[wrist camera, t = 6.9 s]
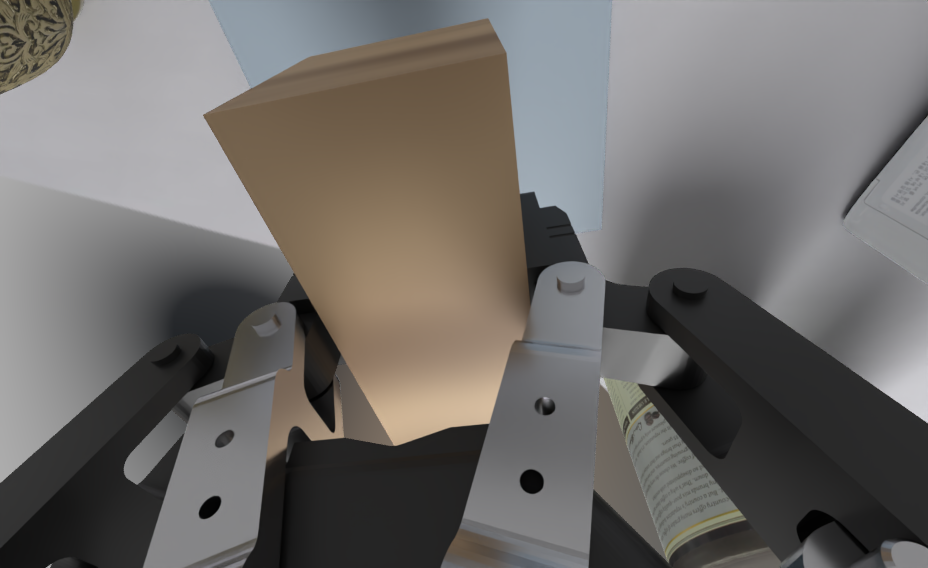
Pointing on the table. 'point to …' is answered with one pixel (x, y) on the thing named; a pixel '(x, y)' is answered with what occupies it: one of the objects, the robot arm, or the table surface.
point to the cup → (33, 37)
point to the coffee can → (684, 492)
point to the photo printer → (898, 208)
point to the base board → (529, 66)
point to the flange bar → (397, 213)
